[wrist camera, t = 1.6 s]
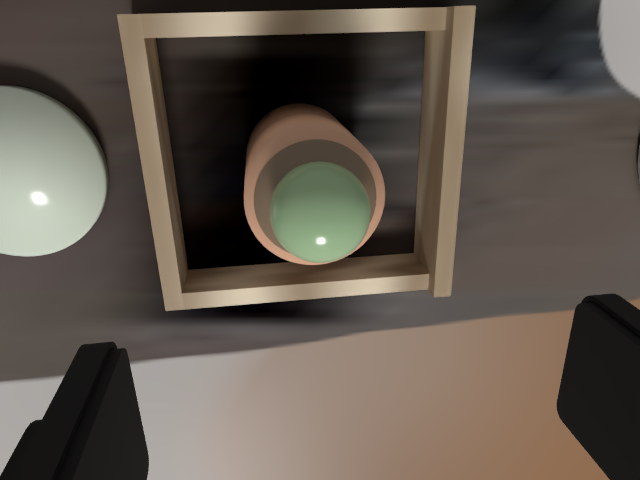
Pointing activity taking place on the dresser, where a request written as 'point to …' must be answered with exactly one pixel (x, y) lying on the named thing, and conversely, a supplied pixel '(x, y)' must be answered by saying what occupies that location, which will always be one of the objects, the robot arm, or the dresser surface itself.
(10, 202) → the pale mint disc
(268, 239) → the terracotta pot
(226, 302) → the wooden frame
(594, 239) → the dresser surface
